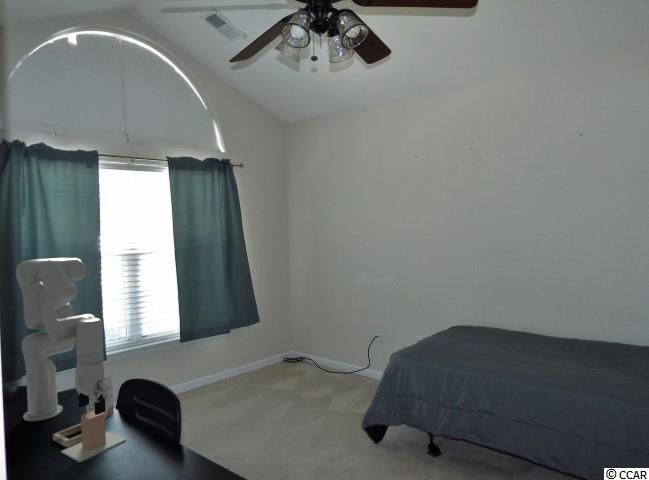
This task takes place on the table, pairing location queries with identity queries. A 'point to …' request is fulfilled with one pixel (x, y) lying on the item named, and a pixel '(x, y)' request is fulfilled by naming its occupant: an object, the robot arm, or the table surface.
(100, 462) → the table surface
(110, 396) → the ink cartridge box
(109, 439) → the sage pad
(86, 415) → the terracotta block
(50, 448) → the table surface
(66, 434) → the pocket frame
